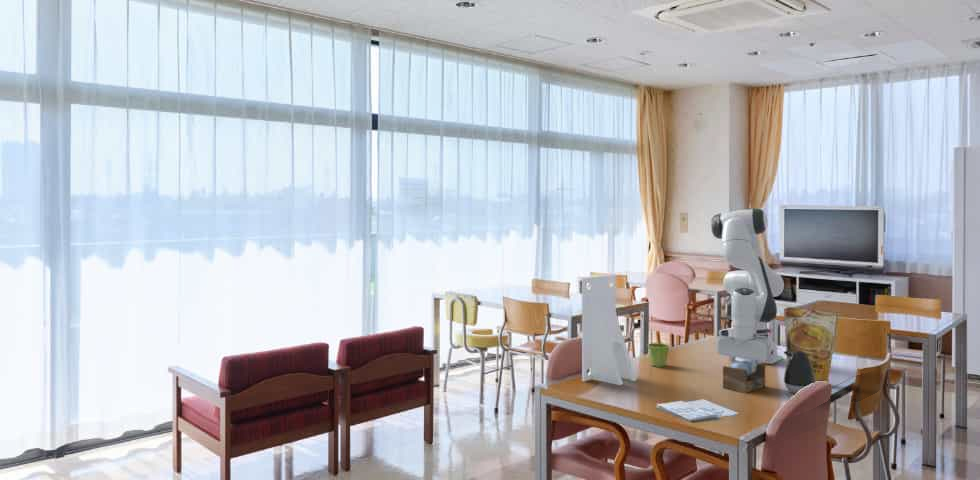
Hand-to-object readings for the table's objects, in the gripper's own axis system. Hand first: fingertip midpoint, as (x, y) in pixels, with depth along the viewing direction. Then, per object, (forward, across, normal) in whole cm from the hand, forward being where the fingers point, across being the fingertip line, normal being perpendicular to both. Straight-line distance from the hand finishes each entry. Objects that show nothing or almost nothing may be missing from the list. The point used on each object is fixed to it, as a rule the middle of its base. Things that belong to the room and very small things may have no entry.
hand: (743, 370), depth 263 cm
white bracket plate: (+7, +40, +26) cm, 48 cm away
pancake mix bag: (+6, -12, -25) cm, 28 cm away
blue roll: (+2, 0, 0) cm, 2 cm away
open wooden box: (+6, 0, 0) cm, 6 cm away
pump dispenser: (+6, -17, -8) cm, 20 cm away
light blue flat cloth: (+7, -7, +39) cm, 41 cm away
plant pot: (+6, +44, -8) cm, 45 cm away
